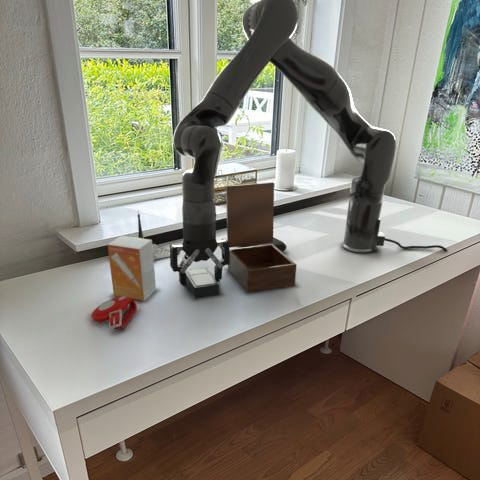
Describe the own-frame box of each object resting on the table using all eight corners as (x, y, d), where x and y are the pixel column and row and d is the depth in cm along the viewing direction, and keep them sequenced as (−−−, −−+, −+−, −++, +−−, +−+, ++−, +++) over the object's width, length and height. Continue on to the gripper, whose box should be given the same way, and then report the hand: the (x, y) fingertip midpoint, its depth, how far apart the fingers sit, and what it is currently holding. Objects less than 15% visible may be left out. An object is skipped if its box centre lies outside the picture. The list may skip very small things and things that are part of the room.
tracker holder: (80, 313, 101) (116, 288, 106) (90, 329, 103) (124, 304, 108) (110, 321, 92) (147, 293, 98) (120, 339, 95) (155, 311, 100)
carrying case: (230, 244, 141) (259, 260, 130) (230, 234, 139) (259, 250, 129) (259, 237, 146) (289, 252, 135) (259, 228, 144) (289, 242, 134)
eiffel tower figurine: (154, 245, 139) (151, 200, 132) (175, 255, 133) (172, 208, 126) (109, 258, 130) (102, 210, 123) (128, 269, 124) (123, 220, 117)
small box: (113, 296, 110) (106, 244, 104) (126, 285, 115) (121, 234, 109) (144, 301, 108) (139, 248, 102) (156, 290, 113) (152, 238, 107)
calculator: (219, 294, 112) (219, 283, 110) (195, 298, 110) (194, 287, 108) (207, 277, 120) (207, 267, 118) (184, 281, 118) (183, 270, 117)
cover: (274, 182, 118) (272, 182, 119) (226, 186, 114) (225, 185, 115) (273, 242, 125) (271, 241, 126) (228, 247, 121) (227, 247, 122)
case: (294, 285, 117) (296, 264, 114) (247, 293, 113) (248, 271, 110) (271, 263, 128) (272, 243, 126) (227, 269, 125) (227, 249, 122)
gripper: (223, 210, 111) (223, 273, 120) (164, 216, 107) (168, 280, 115) (234, 220, 105) (233, 285, 113) (171, 226, 101) (175, 294, 109)
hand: (200, 283), depth 114 cm, fingers open, 8 cm apart
